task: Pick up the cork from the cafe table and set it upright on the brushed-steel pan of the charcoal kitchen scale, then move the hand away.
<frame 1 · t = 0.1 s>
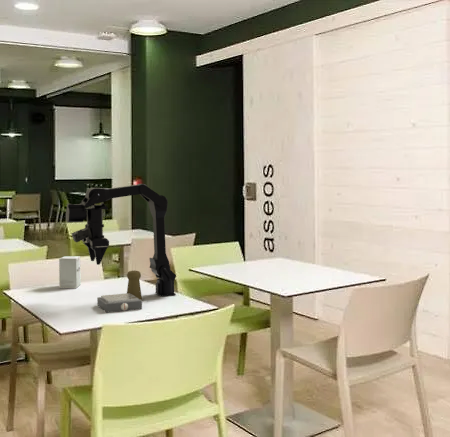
hand: (95, 262, 232), 15 cm above the table, fingers open, 9 cm apart
cork: (134, 299, 237), on the table
supplement box: (70, 287, 260), on the table
kitchen scale: (119, 307, 223), on the table
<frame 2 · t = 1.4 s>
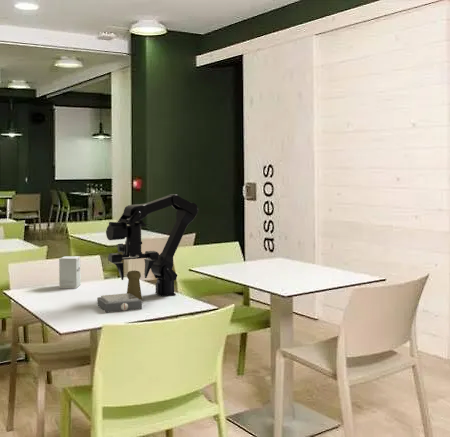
hand: (134, 278, 236), 8 cm above the table, fingers open, 9 cm apart
nothing on the table moved.
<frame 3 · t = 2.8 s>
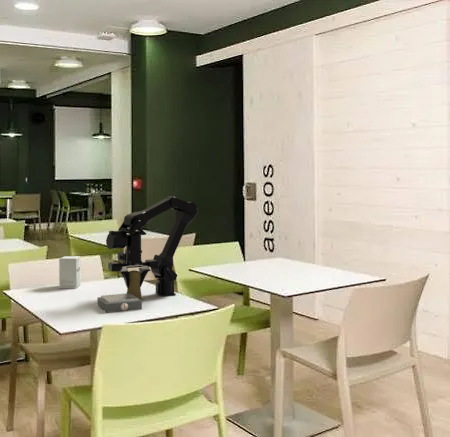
hand: (133, 287, 237), 5 cm above the table, fingers closed on cork, 4 cm apart
cork: (134, 299, 237), on the table, touching gripper
everything else where it was.
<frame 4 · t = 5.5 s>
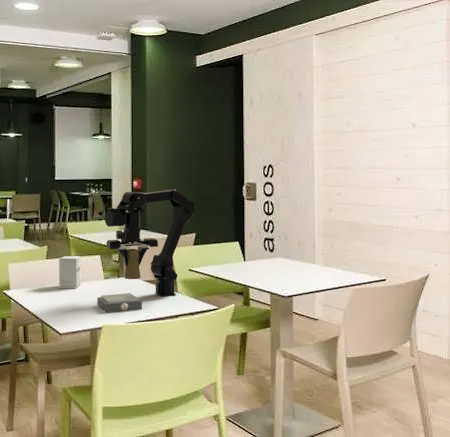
hand: (132, 266, 235), 13 cm above the table, fingers closed on cork, 4 cm apart
cork: (132, 278, 235), point 8 cm above the table, touching gripper
everything else where it was.
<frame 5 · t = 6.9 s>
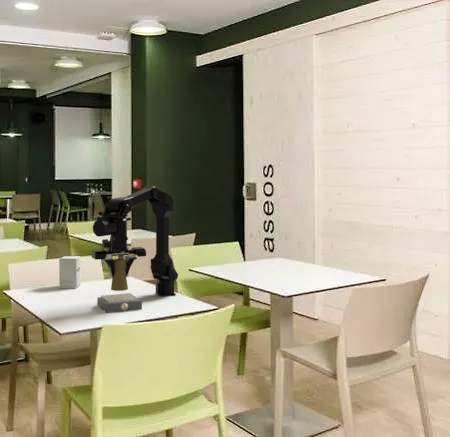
hand: (119, 276, 222), 11 cm above the table, fingers closed on cork, 4 cm apart
cork: (119, 289, 223), point 6 cm above the table, touching gripper
everything else where it was.
when the fingers open (9 cm above the table, at t = 8.0 s): cork stays where it is, resting on kitchen scale.
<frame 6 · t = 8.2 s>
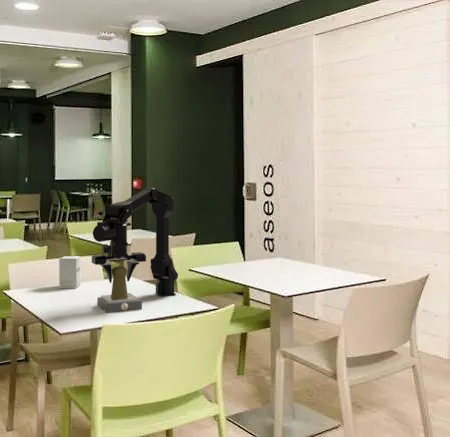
hand: (119, 282, 223), 9 cm above the table, fingers open, 6 cm apart
cork: (119, 297, 223), point 4 cm above the table, touching kitchen scale
everything else where it was.
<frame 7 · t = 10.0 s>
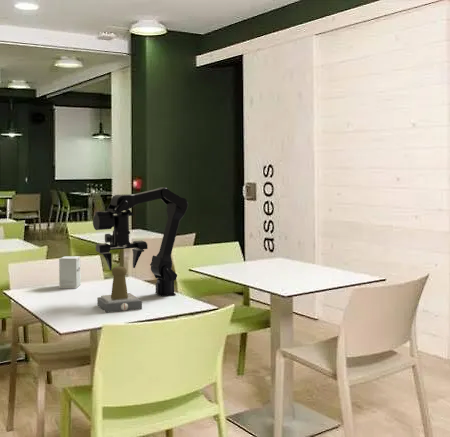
hand: (122, 269, 234), 12 cm above the table, fingers open, 9 cm apart
nothing on the table moved.
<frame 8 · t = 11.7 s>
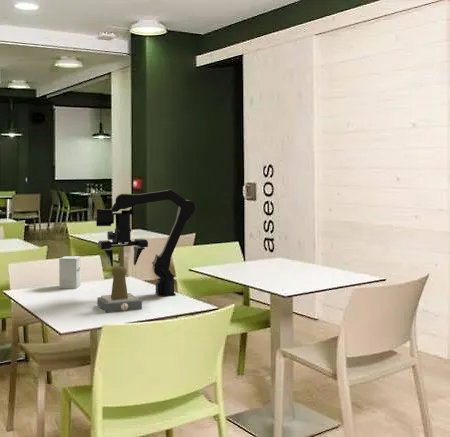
hand: (123, 265, 241), 12 cm above the table, fingers open, 9 cm apart
nothing on the table moved.
at the end: cork 0.1 cm off-centre on the kitchen scale, point 3.6 cm above the kitchen scale's base; cork tilted 0°; the gripper is holding nothing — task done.
